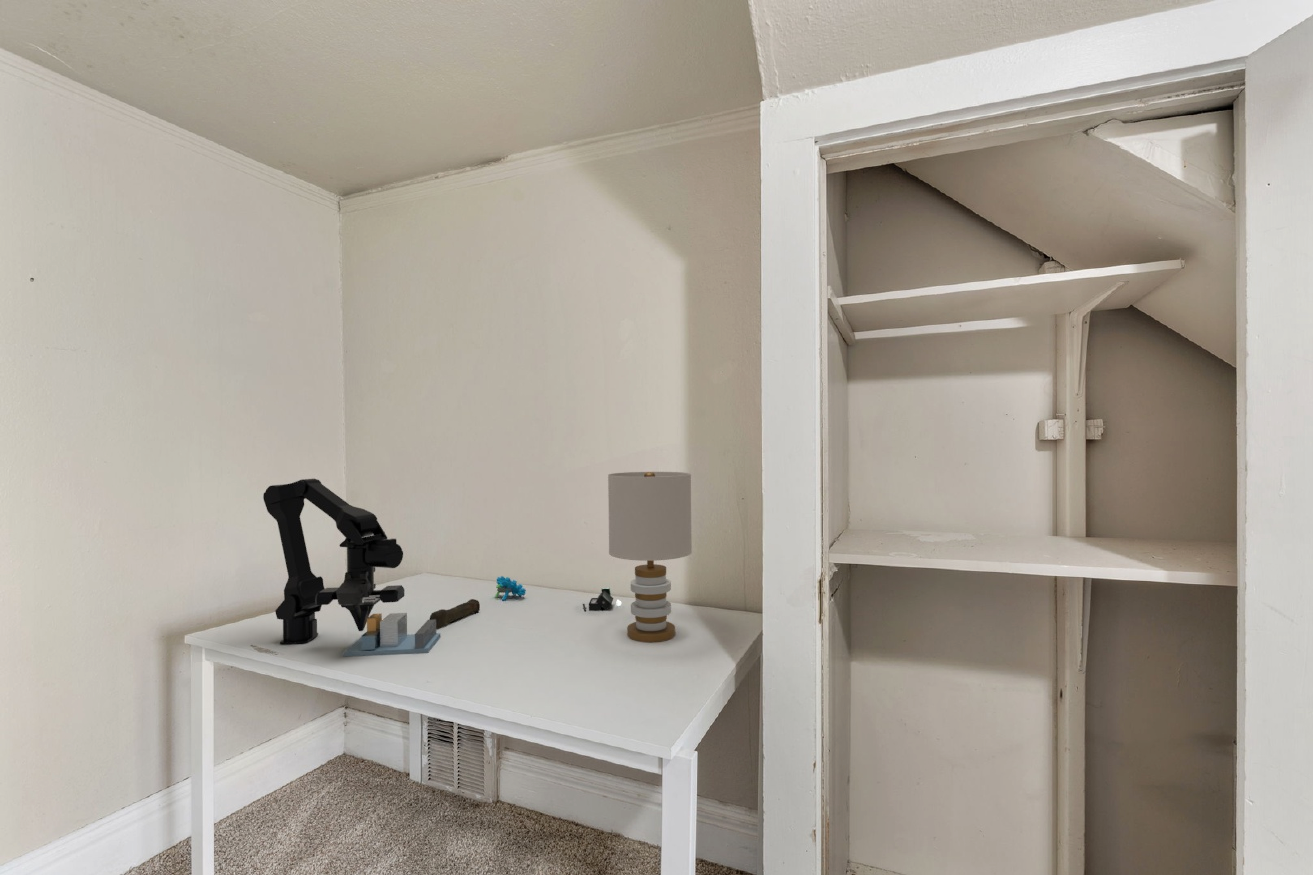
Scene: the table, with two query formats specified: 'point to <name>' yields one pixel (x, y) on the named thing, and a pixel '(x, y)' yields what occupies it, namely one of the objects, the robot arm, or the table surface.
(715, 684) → the table surface
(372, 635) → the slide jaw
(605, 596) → the black angled gadget
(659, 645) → the table surface
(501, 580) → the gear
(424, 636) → the vise
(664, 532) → the lamp
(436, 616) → the brown wooden stick
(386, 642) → the steel block
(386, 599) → the robot arm
